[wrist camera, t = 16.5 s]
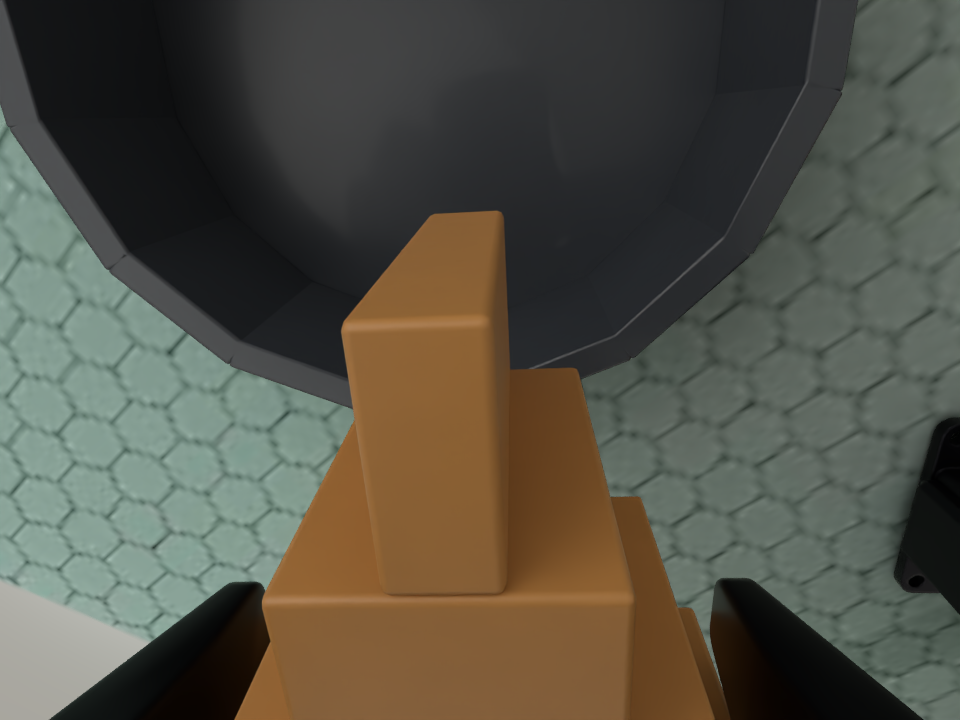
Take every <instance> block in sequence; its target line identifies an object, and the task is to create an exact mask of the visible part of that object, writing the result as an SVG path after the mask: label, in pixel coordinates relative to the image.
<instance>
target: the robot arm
mask: <svg viewBox="0 0 960 720" xmlns="http://www.w3.org/2000/svg"><path fill="white" fill-rule="evenodd" d="M959 431H960V417H958V418H949V419H946V420H944V421H942V422H941V423H940V424H939V425H938V426H937V427H936V429H935V430H934V433H933V436H932V440H931V443H930V447H929V451H928V454H927V458H926V461H925V465H924V468H923V472H922V475H921V479H920V483H919V486H918V488H917V491H916V494H915V498H914V501H913V505H912V508H911V512H910V516H909V519H908V523H907V526H906V530H905V533H904V537H903V540H902V544H901V550H900V554H899V557H898V561H897V564H896V568H895V571H894V578H895V580H896V581H897V582H898V584H899V585H900V586H901V587H902V588H903V590H905V591H907V592H911V593H941V594H942V595H943V596H944V598H945V599H946V600H947V601H948V602H949V603H950V604H951V605H952V607H953V608H954V609H955V610H956V611H957V612H958V613H959V614H960V432H959ZM956 432H959V434H958V435H957V436H956V437H954V438H952V439H951V437H952V435H953V434H955V433H956ZM913 576H914V577H913ZM912 577H913V578H912ZM264 594H265V589H264V587H263V586H262V584H261V583H259V582H232V583H229V584H227V585H226V586H224V587H223V588H222V589H220V590H219V591H218V592H216V593H215V594H214V595H212V596H211V597H210V598H208V599H207V600H206V601H205V602H203V603H202V604H201V605H199V606H198V607H197V608H195V609H194V610H193V611H191V612H190V613H189V614H187V615H186V616H185V617H183V618H182V619H181V620H180V621H178V622H177V623H176V624H174V625H173V626H172V627H170V628H169V629H168V630H166V631H165V632H164V633H162V634H161V635H160V636H158V637H157V638H156V639H155V640H153V641H152V642H151V643H149V644H148V645H147V646H146V647H144V648H143V649H141V650H140V651H139V652H137V653H136V654H135V655H133V656H132V657H131V658H130V659H128V660H127V661H126V662H124V663H123V664H122V665H120V666H119V667H118V668H116V669H115V670H114V671H112V672H111V673H110V674H109V675H107V676H106V677H105V678H103V679H102V680H101V681H99V682H98V683H97V684H95V685H94V686H93V687H91V688H90V689H89V690H88V691H86V692H85V693H83V694H82V695H81V696H79V697H78V698H77V699H76V700H74V701H73V702H72V703H70V704H69V705H68V706H66V707H65V708H64V709H62V710H61V711H60V712H59V713H57V714H56V715H54V716H53V717H52V718H51V719H50V720H235V718H236V716H237V713H238V711H239V709H240V707H241V705H242V702H243V700H244V698H245V696H246V694H247V692H248V689H249V687H250V685H251V683H252V681H253V679H254V676H255V674H256V672H257V670H258V668H259V666H260V663H261V661H262V659H263V657H264V655H265V652H266V650H267V648H268V646H269V644H270V642H271V641H270V637H269V633H268V629H267V625H266V621H265V617H264V613H263V610H262V599H263V596H264ZM710 638H711V644H712V648H713V652H714V656H715V660H716V664H717V668H718V672H719V676H720V680H721V684H722V688H723V692H724V696H725V700H726V703H727V707H728V711H729V715H730V719H731V720H923V719H922V718H921V717H920V716H918V715H917V714H916V713H915V712H914V711H912V710H911V709H910V708H909V707H907V706H906V705H905V704H904V703H903V702H901V701H900V700H899V699H898V698H896V697H895V696H894V695H893V694H892V693H890V692H889V691H888V690H887V689H886V688H884V687H883V686H882V685H881V684H879V683H878V682H877V681H876V680H875V679H873V678H872V677H871V676H870V675H868V674H867V673H866V672H865V671H864V670H862V669H861V668H860V667H859V666H857V665H856V664H855V663H854V662H853V661H851V660H850V659H849V658H848V657H846V656H845V655H844V654H843V653H842V652H840V651H839V650H838V649H837V648H835V647H834V646H833V645H832V644H831V643H829V642H828V641H827V640H826V639H824V638H823V637H822V636H821V635H820V634H818V633H817V632H816V631H815V630H813V629H812V628H811V627H810V626H809V625H807V624H806V623H805V622H804V621H802V620H801V619H800V618H799V617H798V616H796V615H795V614H794V613H793V612H791V611H790V610H789V609H788V608H787V607H785V606H784V605H783V604H782V603H781V602H779V601H778V600H777V599H776V598H774V597H773V596H772V595H771V594H770V593H768V592H767V591H766V590H765V589H763V588H762V587H761V586H760V585H759V584H757V583H756V582H755V581H753V580H751V579H748V578H721V579H719V580H718V581H717V582H716V585H715V588H714V596H713V605H712V613H711V622H710Z"/></svg>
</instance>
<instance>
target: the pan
mask: <svg viewBox="0 0 960 720" xmlns="http://www.w3.org/2000/svg"><path fill="white" fill-rule="evenodd" d="M857 5H858V0H0V105H1V108H2V111H3V114H4V118H5V121H6V124H7V126H8V127H10V130H11V132H12V134H13V135H14V137H15V138H16V139H17V141H18V142H19V144H20V145H21V147H22V148H23V150H24V151H25V153H26V154H27V155H28V157H29V158H30V160H31V161H32V163H33V164H34V166H35V167H36V168H37V170H38V171H39V173H40V174H41V176H42V177H43V179H44V180H45V182H46V183H47V184H48V186H49V187H50V189H51V190H52V192H53V193H54V195H55V196H56V197H57V199H58V200H59V202H60V203H61V205H62V206H63V208H64V209H65V211H66V212H67V213H68V215H69V216H70V218H71V219H72V221H73V222H74V224H75V225H76V226H77V228H78V229H79V231H80V232H81V234H82V235H83V237H84V238H85V240H86V241H87V242H88V244H89V245H90V247H91V248H92V250H93V251H94V253H95V254H96V255H97V257H98V258H99V260H100V261H101V263H102V264H103V266H104V267H105V268H106V269H107V270H110V271H109V272H110V273H111V274H112V275H113V276H115V277H116V278H117V279H118V280H120V281H121V282H122V283H124V284H125V285H126V286H127V287H129V288H130V289H131V290H133V291H134V292H135V293H136V294H138V295H139V296H140V297H142V298H143V299H144V300H145V301H147V302H148V303H149V304H151V305H152V306H153V307H154V308H156V309H157V310H158V311H160V312H161V313H162V314H163V315H165V316H166V317H167V318H169V319H170V320H171V321H172V322H174V323H175V324H176V325H178V326H179V327H180V328H181V329H183V330H184V331H185V332H187V333H188V334H189V335H190V336H192V337H193V338H194V339H196V340H197V341H198V342H199V343H201V344H202V345H203V346H205V347H206V348H207V349H208V350H210V351H211V352H212V353H214V354H215V355H216V356H217V357H219V358H220V359H221V360H223V361H224V362H225V363H227V364H230V366H232V367H234V368H237V369H240V370H243V371H245V372H248V373H251V374H254V375H257V376H260V377H263V378H266V379H268V380H271V381H274V382H277V383H280V384H283V385H286V386H288V387H291V388H294V389H297V390H300V391H303V392H306V393H308V394H311V395H314V396H317V397H320V398H323V399H326V400H328V401H331V402H334V403H337V404H340V405H343V406H346V407H348V408H351V409H353V405H352V399H351V392H350V386H349V379H348V373H347V366H346V360H345V353H344V347H343V340H342V334H341V330H342V326H343V322H344V321H345V319H346V318H347V317H348V316H349V315H350V313H351V312H352V311H353V310H354V308H355V307H356V306H357V305H358V304H359V302H360V301H361V300H362V299H363V297H364V296H365V295H366V294H367V293H368V291H369V290H370V289H371V288H372V286H373V285H374V284H375V283H376V282H377V280H378V279H379V278H380V277H381V275H382V274H383V273H384V272H385V271H386V269H387V268H388V267H389V266H390V264H391V263H392V262H393V261H394V260H395V258H396V257H397V256H398V255H399V253H400V252H401V251H402V250H403V249H404V247H405V246H406V245H407V244H408V242H409V241H410V240H411V239H412V238H413V236H414V235H415V234H416V233H417V231H418V230H419V229H420V228H421V227H422V225H423V224H424V223H425V222H426V220H427V219H428V218H429V217H430V216H431V215H433V214H442V213H462V212H481V211H499V212H502V215H503V217H504V234H505V258H506V282H507V305H508V329H509V353H510V370H516V369H547V368H575V369H577V370H578V373H579V376H580V379H583V378H585V377H588V376H590V375H593V374H596V373H598V372H601V371H603V370H606V369H609V368H611V367H614V366H616V365H619V364H622V363H624V362H627V361H629V360H630V359H631V358H634V357H636V356H637V355H638V354H639V353H640V352H641V351H642V350H644V349H645V348H646V347H647V346H648V345H649V344H650V343H652V342H653V341H654V340H655V339H656V338H657V337H658V336H660V335H661V334H662V333H663V332H664V331H665V330H666V329H668V328H669V327H670V326H671V325H672V324H673V323H674V322H675V321H677V320H678V319H679V318H680V317H681V316H682V315H683V314H685V313H686V312H687V311H688V310H689V309H690V308H691V307H693V306H694V305H695V304H696V303H697V302H698V301H699V300H701V299H702V298H703V297H704V296H705V295H706V294H707V293H709V292H710V291H711V290H712V289H713V288H714V287H715V286H717V285H718V284H719V283H720V282H721V281H722V280H723V279H724V278H726V277H727V276H728V275H729V274H730V273H731V272H732V271H734V270H735V269H736V268H737V267H738V266H739V265H740V264H742V263H743V262H744V261H745V260H746V259H747V258H748V257H749V256H750V254H753V253H754V251H755V249H756V247H757V246H758V244H759V242H760V240H761V239H762V237H763V235H764V233H765V231H766V230H767V228H768V226H769V224H770V222H771V221H772V219H773V217H774V215H775V213H776V212H777V210H778V208H779V206H780V204H781V203H782V201H783V199H784V197H785V195H786V194H787V192H788V190H789V188H790V186H791V185H792V183H793V181H794V179H795V178H796V176H797V174H798V172H799V170H800V169H801V167H802V165H803V163H804V161H805V160H806V158H807V156H808V154H809V152H810V151H811V149H812V147H813V145H814V143H815V142H816V140H817V138H818V136H819V134H820V133H821V131H822V129H823V127H824V125H825V124H826V122H827V120H828V118H829V117H830V115H831V113H832V111H833V109H834V108H835V106H836V104H837V102H838V100H839V99H840V97H841V95H842V92H841V90H842V88H843V85H844V79H845V74H846V68H847V62H848V56H849V51H850V45H851V39H852V33H853V28H854V22H855V16H856V10H857Z"/></svg>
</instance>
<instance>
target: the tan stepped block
mask: <svg viewBox="0 0 960 720" xmlns="http://www.w3.org/2000/svg"><path fill="white" fill-rule="evenodd" d="M341 334H342V340H343V347H344V353H345V360H346V366H347V373H348V379H349V386H350V392H351V399H352V405H353V412H354V418H355V420H354V422H353V424H352V426H351V428H350V430H349V432H348V434H347V435H346V437H345V439H344V441H343V443H342V445H341V447H340V449H339V451H338V453H337V455H336V457H335V459H334V460H333V462H332V464H331V466H330V468H329V470H328V472H327V474H326V476H325V478H324V480H323V482H322V484H321V486H320V487H319V489H318V491H317V493H316V495H315V497H314V499H313V501H312V503H311V505H310V507H309V509H308V511H307V513H306V514H305V516H304V518H303V520H302V522H301V524H300V526H299V528H298V530H297V532H296V534H295V536H294V538H293V540H292V541H291V543H290V545H289V547H288V549H287V551H286V553H285V555H284V557H283V559H282V561H281V563H280V565H279V567H278V568H277V570H276V572H275V574H274V576H273V578H272V580H271V582H270V584H269V586H268V588H267V590H266V592H265V594H264V596H263V599H262V610H263V613H264V617H265V621H266V625H267V629H268V633H269V637H270V641H271V642H270V644H269V646H268V648H267V650H266V652H265V655H264V657H263V659H262V661H261V663H260V666H259V668H258V670H257V672H256V674H255V676H254V679H253V681H252V683H251V685H250V687H249V689H248V692H247V694H246V696H245V698H244V700H243V702H242V705H241V707H240V709H239V711H238V713H237V716H236V718H235V720H731V719H730V715H729V711H728V707H727V703H726V700H725V696H724V692H723V689H722V687H721V684H720V681H719V678H718V676H717V673H716V670H715V668H714V665H713V662H712V659H711V657H710V654H709V651H708V648H707V646H706V643H705V640H704V637H703V635H702V632H701V629H700V626H699V624H698V621H697V618H696V616H695V613H694V611H693V610H692V609H691V608H678V607H677V604H676V601H675V598H674V595H673V592H672V589H671V586H670V583H669V580H668V577H667V574H666V571H665V568H664V565H663V562H662V559H661V556H660V553H659V550H658V547H657V544H656V541H655V538H654V535H653V532H652V530H651V527H650V524H649V521H648V518H647V515H646V512H645V509H644V506H643V503H642V500H641V498H640V497H610V493H609V490H608V486H607V482H606V478H605V474H604V470H603V466H602V462H601V458H600V454H599V450H598V446H597V443H596V439H595V435H594V431H593V427H592V423H591V419H590V415H589V411H588V407H587V403H586V400H585V396H584V392H583V388H582V384H581V380H580V376H579V373H578V370H577V369H575V368H547V369H516V370H510V353H509V329H508V305H507V282H506V258H505V234H504V217H503V215H502V212H499V211H481V212H462V213H442V214H433V215H431V216H430V217H429V218H428V219H427V220H426V222H425V223H424V224H423V225H422V227H421V228H420V229H419V230H418V231H417V233H416V234H415V235H414V236H413V238H412V239H411V240H410V241H409V242H408V244H407V245H406V246H405V247H404V249H403V250H402V251H401V252H400V253H399V255H398V256H397V257H396V258H395V260H394V261H393V262H392V263H391V264H390V266H389V267H388V268H387V269H386V271H385V272H384V273H383V274H382V275H381V277H380V278H379V279H378V280H377V282H376V283H375V284H374V285H373V286H372V288H371V289H370V290H369V291H368V293H367V294H366V295H365V296H364V297H363V299H362V300H361V301H360V302H359V304H358V305H357V306H356V307H355V308H354V310H353V311H352V312H351V313H350V315H349V316H348V317H347V318H346V319H345V321H344V322H343V326H342V330H341Z"/></svg>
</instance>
